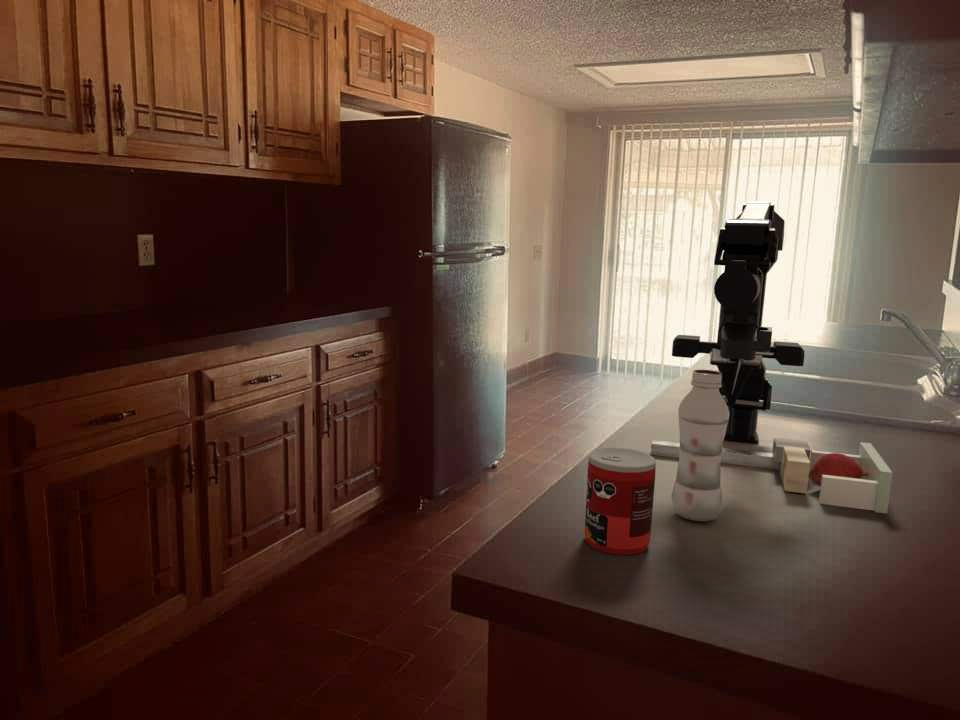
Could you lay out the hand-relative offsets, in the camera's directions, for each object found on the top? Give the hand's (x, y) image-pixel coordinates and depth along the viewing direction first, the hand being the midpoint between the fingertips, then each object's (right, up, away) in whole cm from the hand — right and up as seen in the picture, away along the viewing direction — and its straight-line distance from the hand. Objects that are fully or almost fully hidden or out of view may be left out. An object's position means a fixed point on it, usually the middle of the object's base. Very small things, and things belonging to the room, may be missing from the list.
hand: (731, 404), depth 113 cm
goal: (+15, -13, -3) cm, 20 cm away
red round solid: (+11, -10, -2) cm, 15 cm away
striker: (+10, -12, +2) cm, 15 cm away
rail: (+6, -10, +9) cm, 15 cm away
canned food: (-22, -16, -23) cm, 36 cm away
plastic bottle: (-10, -15, -14) cm, 23 cm away
